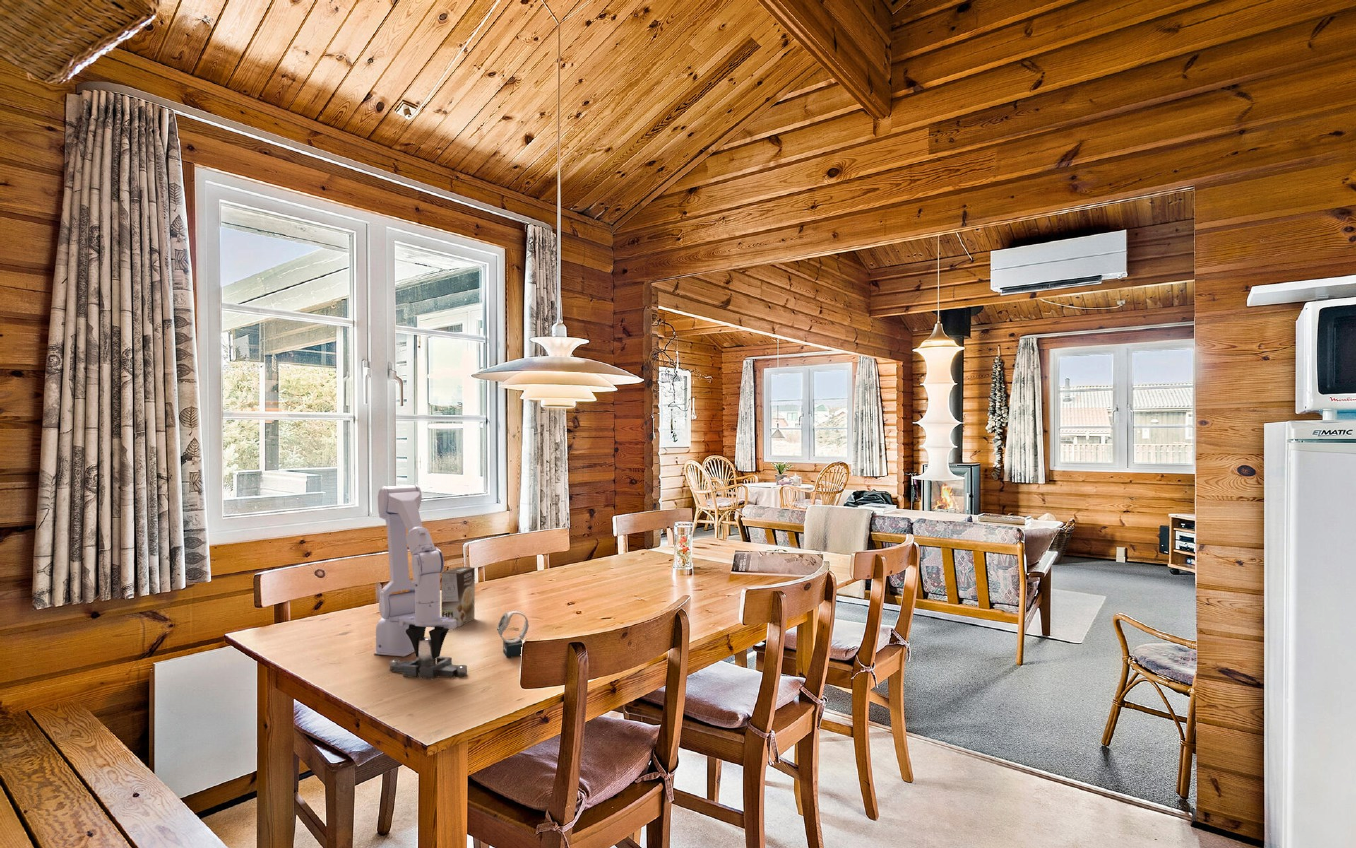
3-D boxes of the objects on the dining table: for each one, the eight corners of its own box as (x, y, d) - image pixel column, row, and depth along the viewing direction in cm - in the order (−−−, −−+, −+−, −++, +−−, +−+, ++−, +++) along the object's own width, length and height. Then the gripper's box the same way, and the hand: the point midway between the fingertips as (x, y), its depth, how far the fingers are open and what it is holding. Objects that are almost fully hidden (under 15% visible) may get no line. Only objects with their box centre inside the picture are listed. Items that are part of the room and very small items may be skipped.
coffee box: (460, 627, 206) (460, 573, 206) (440, 626, 207) (440, 572, 207) (475, 618, 215) (475, 567, 215) (456, 617, 216) (456, 566, 216)
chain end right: (419, 678, 164) (419, 667, 164) (439, 666, 172) (439, 656, 172) (457, 681, 162) (457, 670, 162) (474, 669, 170) (474, 659, 170)
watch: (495, 652, 182) (495, 611, 182) (526, 648, 186) (525, 607, 186) (499, 659, 177) (499, 616, 177) (530, 655, 181) (530, 612, 181)
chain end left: (380, 674, 167) (379, 663, 167) (400, 663, 175) (400, 653, 175) (416, 677, 165) (416, 667, 165) (435, 666, 172) (435, 656, 172)
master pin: (414, 669, 167) (414, 640, 167) (426, 664, 171) (426, 635, 171) (428, 671, 165) (428, 642, 165) (439, 666, 169) (439, 637, 169)
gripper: (391, 603, 166) (391, 659, 166) (444, 606, 163) (445, 664, 163) (409, 596, 173) (409, 650, 173) (461, 599, 170) (461, 654, 170)
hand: (427, 656), depth 168 cm, fingers closed on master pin, 4 cm apart
